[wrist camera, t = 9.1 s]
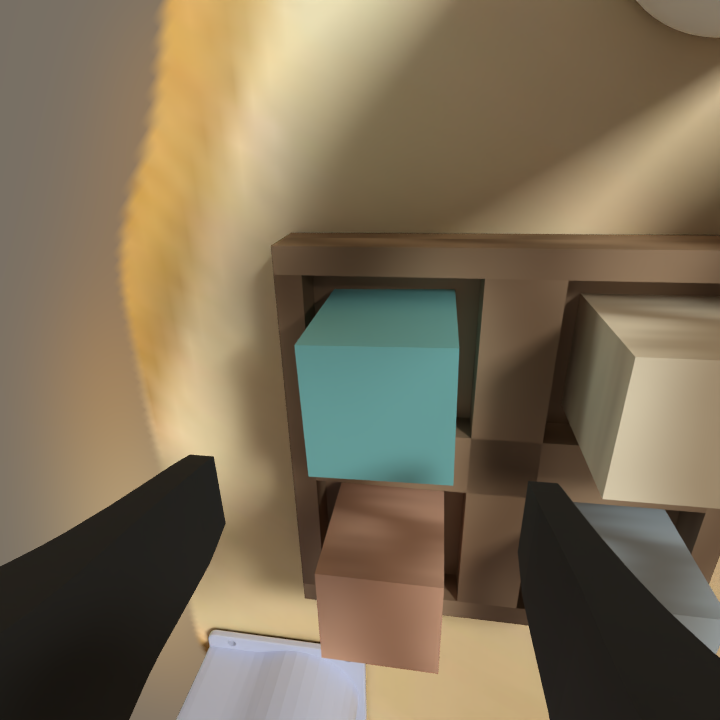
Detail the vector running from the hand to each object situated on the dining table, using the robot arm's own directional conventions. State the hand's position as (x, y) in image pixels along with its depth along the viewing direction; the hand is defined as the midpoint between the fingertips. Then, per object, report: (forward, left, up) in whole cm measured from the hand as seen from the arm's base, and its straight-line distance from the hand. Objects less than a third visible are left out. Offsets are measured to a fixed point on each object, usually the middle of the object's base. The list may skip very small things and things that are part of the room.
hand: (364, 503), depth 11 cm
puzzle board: (+4, -4, -10) cm, 12 cm away
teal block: (0, 0, -9) cm, 9 cm away
